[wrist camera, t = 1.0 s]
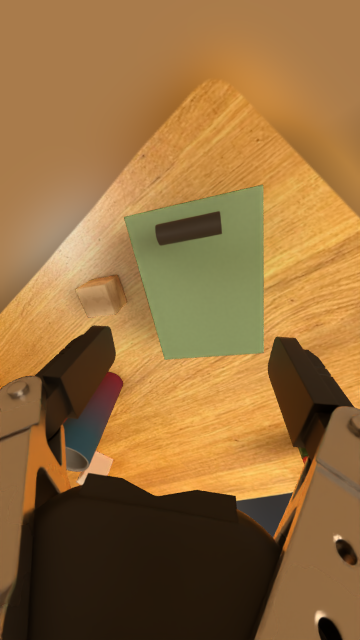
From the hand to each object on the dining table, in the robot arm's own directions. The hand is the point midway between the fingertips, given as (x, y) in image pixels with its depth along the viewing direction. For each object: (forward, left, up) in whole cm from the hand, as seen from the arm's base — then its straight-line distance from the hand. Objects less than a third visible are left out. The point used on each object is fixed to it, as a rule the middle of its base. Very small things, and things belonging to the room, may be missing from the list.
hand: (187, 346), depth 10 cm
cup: (+21, -22, -20) cm, 37 cm away
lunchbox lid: (+2, 0, -13) cm, 13 cm away
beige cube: (+51, -37, -20) cm, 66 cm away
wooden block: (+2, -15, -20) cm, 25 cm away
